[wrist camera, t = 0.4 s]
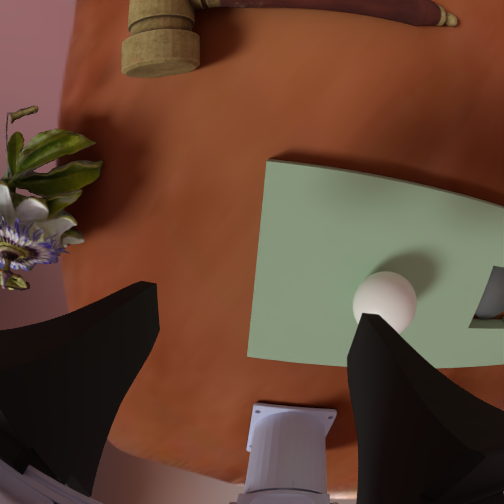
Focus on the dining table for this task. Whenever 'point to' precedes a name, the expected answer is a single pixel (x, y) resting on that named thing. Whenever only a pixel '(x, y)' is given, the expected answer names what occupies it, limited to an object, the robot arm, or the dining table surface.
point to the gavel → (185, 3)
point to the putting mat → (374, 265)
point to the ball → (386, 299)
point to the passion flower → (39, 199)
